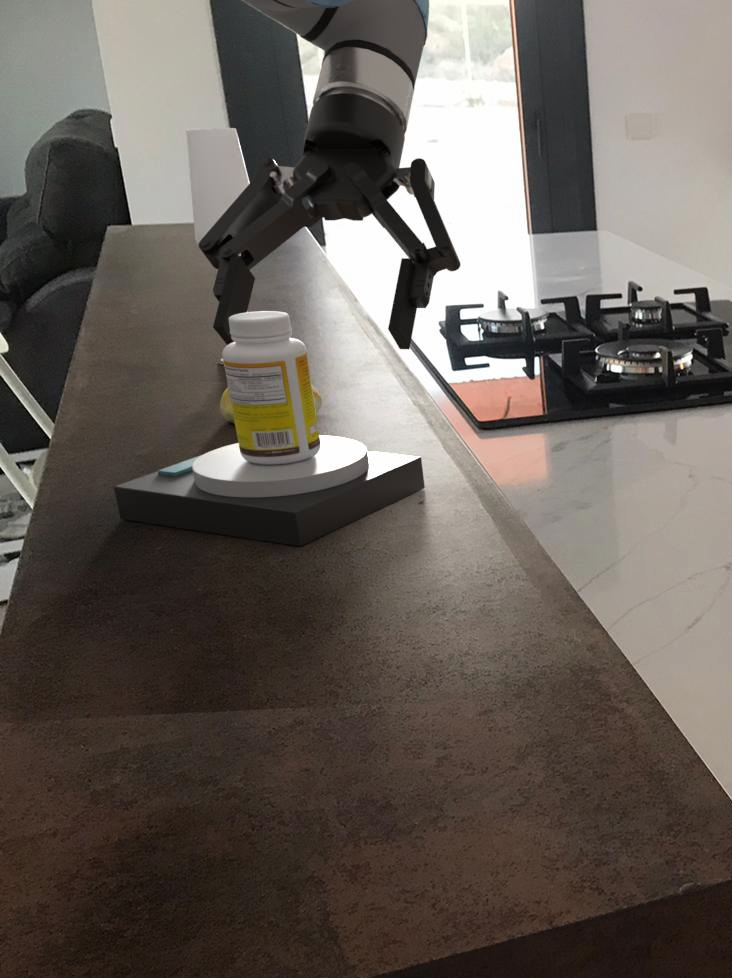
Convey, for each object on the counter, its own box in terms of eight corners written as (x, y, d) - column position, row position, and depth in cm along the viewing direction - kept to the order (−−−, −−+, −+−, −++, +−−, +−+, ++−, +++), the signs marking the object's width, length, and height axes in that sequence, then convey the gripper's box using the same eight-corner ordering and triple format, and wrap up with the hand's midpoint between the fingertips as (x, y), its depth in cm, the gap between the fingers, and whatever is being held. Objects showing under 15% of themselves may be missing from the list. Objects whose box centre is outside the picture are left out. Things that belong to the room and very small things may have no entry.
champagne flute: (252, 351, 145) (214, 127, 136) (295, 357, 143) (260, 128, 133) (203, 363, 140) (160, 129, 131) (247, 369, 137) (207, 131, 128)
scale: (120, 519, 92) (109, 470, 90) (259, 466, 104) (252, 422, 102) (300, 547, 87) (292, 494, 85) (425, 487, 99) (419, 441, 97)
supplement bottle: (295, 441, 97) (274, 305, 93) (337, 454, 94) (316, 314, 90) (225, 457, 93) (200, 316, 89) (266, 472, 90) (242, 326, 86)
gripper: (518, 154, 109) (485, 367, 101) (233, 153, 110) (178, 363, 102) (495, 88, 102) (457, 311, 94) (191, 88, 103) (128, 307, 95)
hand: (311, 338), depth 98 cm, fingers open, 13 cm apart
